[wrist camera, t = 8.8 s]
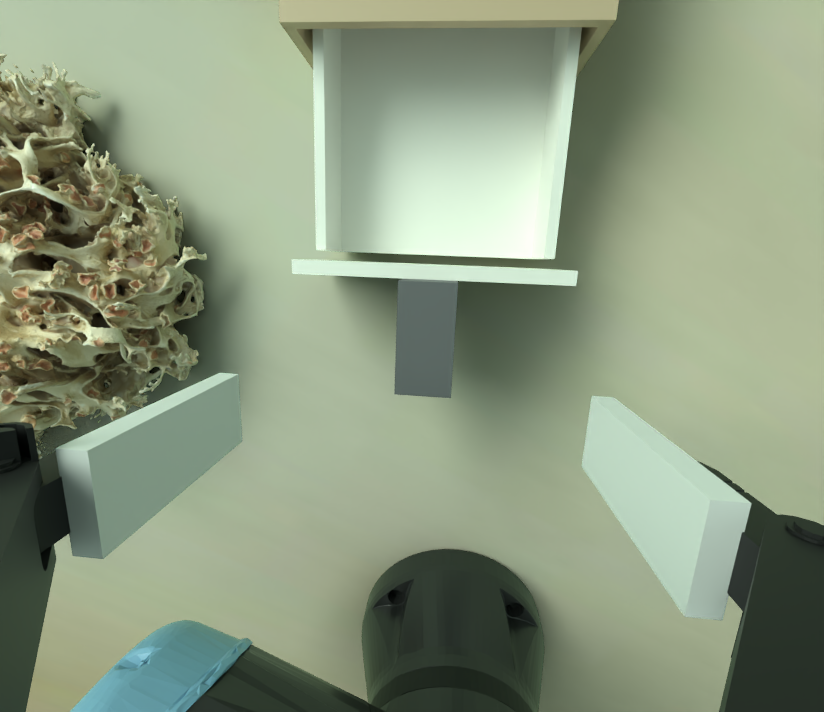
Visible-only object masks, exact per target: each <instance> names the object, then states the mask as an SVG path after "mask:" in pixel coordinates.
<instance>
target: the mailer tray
mask: <svg viewBox="0 0 824 712" xmlns="http://www.w3.org/2000/svg"><path fill="white" fill-rule="evenodd" d="M581 32H582V27H534V28H376V29H313V88H314V150H315V212H316V250H324V251H335V252H361V253H387V254H412V255H438V256H464V257H490V258H516V259H555V253H556V244H557V236H558V227H559V219H560V210H561V202H562V193H563V185H564V176H565V168H566V159H567V151H568V142H569V134H570V125H571V117H572V108H573V100H574V91H575V83H576V74H577V66H578V57H579V49H580V40H581ZM292 274H310V275H333V276H356V277H379V278H402V279H401V280H398V298H397V331H396V364H395V394H398V395H413V396H428V397H443V398H451V387H452V371H453V356H454V340H455V324H456V309H457V293H458V281H471V282H495V283H518V284H541V285H564V286H576V284H577V276H578V271H572V270H558V269H538V268H513V267H488V266H464V265H439V264H414V263H389V262H365V261H340V260H303V259H292Z"/></svg>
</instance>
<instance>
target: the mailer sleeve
mask: <svg viewBox="0 0 824 712" xmlns="http://www.w3.org/2000/svg"><path fill="white" fill-rule="evenodd" d="M618 3H619V0H279V22H280V24H281V25H282V26H283V28H284V29H285V31H286V32H287V33H288V35H289V36H290V38H291V39H292V41H293V42H294V43H295V45H296V46H297V48H298V49H299V50H300V52H301V53H302V55H303V56H304V57H305V59H306V60H307V62H308V63H309V64H310V66H311V67H312V69H313V29H376V28H534V27H582V32H581V40H580V49H579V57H578V66H577V74H576V77H577V76H578V75H579V73H580V72H581V70H582V69H583V67H584V66H585V64H586V63H587V61H588V60H589V59H590V57H591V56H592V54H593V53H594V51H595V50H596V48H597V47H598V45H599V44H600V43H601V41H602V40H603V38H604V37H605V35H606V34H607V32H608V31H609V29H610V28H611V27H612V25H613V24H614V22H615V21H616V18H617V11H618Z"/></svg>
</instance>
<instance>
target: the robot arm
mask: <svg viewBox="0 0 824 712" xmlns="http://www.w3.org/2000/svg"><path fill="white" fill-rule="evenodd" d="M241 442H242V426H241V408H240V390H239V374H231V373H218V374H216V375H213V376H211V377H209V378H207V379H205V380H203V381H200V382H198V383H196V384H194V385H192V386H190V387H187V388H185V389H183V390H181V391H179V392H176V393H174V394H172V395H170V396H168V397H166V398H163V399H161V400H159V401H157V402H155V403H153V404H150V405H148V406H146V407H144V408H142V409H139V410H137V411H135V412H133V413H131V414H129V415H126V416H124V417H122V418H120V419H118V420H116V421H113V422H111V423H109V424H107V425H105V426H103V427H100V428H98V429H96V430H94V431H92V432H89V433H87V434H85V435H83V436H81V437H79V438H76V439H74V440H72V441H70V442H68V443H66V444H63V445H61V446H59V447H57V448H55V451H56V452H54V453H51V454H49V455H47V456H45V457H43V458H41V459H39V458H38V452H37V446H36V441H35V435H34V429H33V425H32V424H30V423H26V422H9V423H0V712H26V707H27V702H28V697H29V692H30V687H31V682H32V677H33V672H34V667H35V662H36V657H37V652H38V647H39V642H40V637H41V632H42V627H43V622H44V617H45V612H46V607H47V602H48V597H49V592H50V587H51V582H52V577H53V572H54V567H55V562H56V555H55V549H54V543H56V542H57V541H59V540H60V539H62V538H63V537H64V536H66V535H67V534H69V536H70V542H71V548H72V554H73V556H79V557H89V558H99V559H104V558H105V557H106V556H107V555H108V554H110V553H111V552H112V551H113V550H114V549H115V548H117V547H118V546H119V545H120V544H121V543H123V542H124V541H125V540H126V539H127V538H128V537H130V536H131V535H132V534H133V533H134V532H135V531H137V530H138V529H139V528H140V527H141V526H143V525H144V524H145V523H146V522H147V521H148V520H150V519H151V518H152V517H153V516H154V515H156V514H157V513H158V512H159V511H160V510H161V509H163V508H164V507H165V506H166V505H167V504H169V503H170V502H171V501H172V500H173V499H174V498H176V497H177V496H178V495H179V494H180V493H182V492H183V491H184V490H185V489H186V488H187V487H189V486H190V485H191V484H192V483H193V482H195V481H196V480H197V479H198V478H199V477H200V476H202V475H203V474H204V473H205V472H206V471H208V470H209V469H210V468H211V467H212V466H213V465H215V464H216V463H217V462H218V461H219V460H221V459H222V458H223V457H224V456H225V455H226V454H228V453H229V452H230V451H231V450H232V449H234V448H235V447H236V446H237V445H238V444H239V443H241ZM582 468H583V469H584V471H585V472H586V474H587V475H588V477H589V478H590V479H591V481H592V482H593V484H594V485H595V487H596V488H597V490H598V491H599V493H600V494H601V495H602V497H603V498H604V500H605V501H606V503H607V504H608V506H609V507H610V509H611V510H612V512H613V513H614V514H615V516H616V517H617V519H618V520H619V522H620V523H621V525H622V526H623V528H624V529H625V531H626V532H627V533H628V535H629V536H630V538H631V539H632V541H633V542H634V544H635V545H636V547H637V548H638V549H639V551H640V552H641V554H642V555H643V557H644V558H645V560H646V561H647V563H648V564H649V566H650V567H651V568H652V570H653V571H654V573H655V574H656V576H657V577H658V579H659V580H660V582H661V583H662V585H663V586H664V587H665V589H666V590H667V592H668V593H669V595H670V596H671V598H672V599H673V601H674V602H675V604H676V605H677V606H678V608H679V609H680V611H681V612H682V614H683V615H684V617H693V618H703V619H713V620H723V616H724V612H725V608H726V604H727V600H728V596H730V597H731V598H732V599H733V600H734V601H735V602H736V604H737V605H738V606H739V607H740V608H741V609H742V611H743V613H742V617H741V621H740V625H739V629H738V632H737V636H736V640H735V644H734V648H733V652H732V655H731V658H732V659H731V663H730V667H729V672H728V676H727V680H726V684H725V689H724V693H723V697H722V702H721V706H720V710H719V712H824V526H823V525H821V524H819V523H816V522H813V521H810V520H806V519H803V518H799V517H795V516H788V515H777V514H775V513H774V512H773V511H771V510H770V509H769V508H767V507H766V506H765V505H763V504H762V503H761V502H759V501H758V500H757V499H755V498H754V497H753V496H751V495H750V494H749V493H745V492H744V490H743V489H742V488H740V487H739V486H738V485H736V484H734V483H732V481H731V480H730V479H728V478H727V477H726V476H724V475H723V474H722V473H720V472H719V471H717V470H715V469H713V468H711V467H709V466H707V465H705V464H703V463H701V462H699V461H696V460H695V459H693V458H692V457H691V456H689V455H688V454H687V453H686V452H684V451H683V450H682V449H680V448H679V447H678V446H676V445H675V444H674V443H673V442H671V441H670V440H669V439H667V438H666V437H665V436H663V435H662V434H661V433H659V432H658V431H657V430H656V429H654V428H653V427H652V426H650V425H649V424H648V423H646V422H645V421H644V420H643V419H641V418H640V417H639V416H637V415H636V414H635V413H633V412H632V411H631V410H630V409H628V408H627V407H626V406H624V405H623V404H622V403H620V402H619V401H618V400H617V399H615V398H614V397H600V396H592V397H591V404H590V411H589V418H588V425H587V432H586V439H585V446H584V453H583V460H582ZM252 643H253V642H252V641H251V640H249V639H248V638H244V639H241V640H239V639H237V638H235V637H232V636H230V635H228V634H225V633H223V632H220V631H218V630H216V629H213V628H211V627H208V626H206V625H204V624H201V623H199V622H195V621H190V620H182V621H177V622H173V623H170V624H168V625H165V626H164V627H162V628H160V629H158V630H156V631H155V632H153V633H152V634H150V635H149V636H148V637H146V638H145V639H144V640H142V641H141V642H140V643H139V644H137V645H136V646H135V647H134V648H133V649H132V650H130V651H129V652H128V653H127V654H126V655H125V656H124V657H123V658H122V659H121V660H120V661H119V662H117V663H116V664H115V665H114V666H113V667H112V668H111V669H110V670H109V671H108V672H107V673H106V674H105V675H104V676H103V677H102V678H101V679H100V680H99V681H98V682H97V683H96V685H95V686H94V687H93V688H92V689H91V690H90V691H89V692H88V693H87V694H86V695H85V696H84V697H83V698H82V699H81V700H80V701H79V702H78V704H77V705H76V706H75V707H74V708H73V709H72V710H71V711H70V712H538V709H539V700H540V690H541V680H542V671H543V661H544V637H543V631H542V627H541V623H540V619H539V615H538V611H537V608H536V605H535V602H534V600H533V598H532V596H531V594H530V592H529V591H528V589H527V588H526V586H525V585H524V584H523V583H522V582H521V580H520V579H519V578H518V577H517V576H516V575H514V574H513V573H512V572H511V571H510V570H508V569H507V568H506V567H504V566H502V565H501V564H499V563H497V562H496V561H494V560H492V559H490V558H487V557H485V556H482V555H479V554H476V553H472V552H467V551H462V550H451V549H442V550H431V551H426V552H421V553H418V554H415V555H412V556H409V557H407V558H405V559H403V560H401V561H399V562H398V563H396V564H394V565H393V566H392V567H390V568H389V569H388V570H387V571H386V572H385V573H384V574H383V575H382V576H381V577H380V578H379V580H378V581H377V582H376V584H375V585H374V587H373V589H372V591H371V593H370V596H369V599H368V603H367V607H366V611H365V616H364V620H363V625H362V649H363V658H364V668H365V677H366V686H367V696H368V703H367V702H366V701H364V700H362V699H360V698H358V697H356V696H354V695H352V694H350V693H348V692H346V691H344V690H342V689H340V688H338V687H336V686H334V685H332V684H330V683H328V682H326V681H324V680H322V679H320V678H318V677H316V676H314V675H312V674H310V673H308V672H306V671H304V670H302V669H300V668H298V667H296V666H294V665H292V664H290V663H288V662H285V661H283V660H281V659H279V658H277V657H275V656H273V655H271V654H269V653H267V652H265V651H263V650H261V649H259V648H257V647H255V646H253V645H251V644H252Z"/></svg>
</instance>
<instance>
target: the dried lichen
mask: <svg viewBox="0 0 824 712" xmlns="http://www.w3.org/2000/svg"><path fill="white" fill-rule="evenodd" d="M6 56H7V54H0V65H1V62H2V63H3V61H4V59H3V58H5V57H6ZM52 63H53V67H54V69H55V72H56V81H53V80H51V74H52V72H53V71H52V68H51V67H49V66H46V65H42V69H43V73H44V74H43V77H42V78H39V79H37V78H36V77H34V78H33V80H34V81H35V83H37V85H36V84H34V83H33V82H32V81H31V80H28V78H27V77H25V76H23V75H22V73H21V72H20V71H17V74H16V73H15V75H14V74H13V73H12V72H11V71H10V70H5V71H6V72H7V73H8V74H10V75H11V77H9V78H8V77H7V76H5V78H6V81H2V79H1V77H0V423H9V422H26V423H30V424H32V425H33V429H34V435H35V439H36V440H35V441H39V442H40V443H42V441H41V440H40V439H39V438H40V437H41V436H42V434H44V431H43V430H44V429H46V428H48V427H49V426H50V427H56V426H59V425H62V426H68V427H70V428H73V429H76V428H77V427H76V426H75V425H74V422H73V421H72V420H74V419H75V418H76V417H78V416H80V417H85V416H87V415H90V414H94V413H95V412H96V410H98V409H100V412H99V414H97V415H96V416H94V419H95V418H96V417H98V416H99V415H100V414H101V417H102V416H105V415H106V413H107V414H108V415H109V416H110V418H111V420H112V421H114V420H115V419H120V418H122V417H124V416H126V415H128V414H127V411H128V410H129V409H130V407H131V406H132V405H135V406H137V407H141V408H143V405H142V404H143V403H147V402H148V401H147V396H148V395H144V392H146V391H149V390H151V389H152V391H154V389H155V388H156V387H157V386H158V385H159V384H160V383H161V380H162V377H163V375H164V373H167V374H169V375H171V376H172V377H173V376H174V377H175V378H177V379H178V380H179V381H181V380H186V379H187V376H188V375H189V372H190V369H191V366H194V365H196V364H197V363H198V360H197V356H198V355H199V352H198V351H197V350H193V349H191V348H190V347H189V346H188V344H187V342H188V338H187V336H186V335H184V334H182V335H180V334H179V333H178V331H177V330H176V329H174V328H175V327H174V326H173V324H174V323H176V322H178V321H180V320H181V319H189V318H192V317H193V316H198V315H197V313H198V311H201V310H203V309H204V306H203V305H204V304H203V303H202V301H203V300H204V291H203V284H204V283H203V281H202V280H201V279H200V278H198V277H197V276H196V274H190V273H189V272H187V271H186V270H185V269H184V268H183V267H184V265H185V263H186V262H187V261H188V260H191V259H197V258H198V260H207V255H206V253H205V254H203V255H201V254H198V253H197V250H196V249H194V248H193V246H192V247H191V248H190V247H187V248H186V246H184V248H183V257H181V258H180V260H179V262H178V263H177V259H174V258H173V257H174V256H178V257H180V256H179V247H180V248H182V247H181V246H180V243H181V237H182V232H184V228H183V225H184V224H183V217H182V212H180V213H179V215H178V216H176V215H175V210H176V208H177V206H178V204H179V202H178V201H177V196H174V198H173V200H174V201H173V200H172V199H170V200H168V199H166V202H167V204H168V211H167V210H166V208H165V207H164V206H163V203H162V201H161V200H160V198H159V195H158V194H157V195H150V193H149V192H152V191H151V190H150V189H146V188H145V186H143V184H142V183H141V182H139V181H142V180H143V179H144V177H142V176H141V175H139V174H136V176H135V177H134V176H133V174H128V175H121V176H119V173H120V171H121V169H119V170H117V169H116V166H117V165H116V164H115V163H114V164H113V165H111V164H110V163H109V161H110V159H109V154H110V153H108V152H107V150H106V157H105V158H104V159H103V155H101V157H100V158H99V152H95V155H94V157H93V155H91V156H90V153H91V152H92V153H94V151H93V147H94V146H95V144H94V143H93V144H92V146H91V148H89V147H88V146H87V144H86V143H85V141H84V139H83V134H82V132H81V131H82V128H83V127H84V125H83V124H82V123H83V122H85V121H87V120H89V121H91V118H90V117H89V116H88V115H87V114H86V113H85V112H83V111H81V109H80V107H78V106H76V105H75V103H76V102H75V99H76V97H79V96H81V95H86V96H88V97H91V98H92V99H95V98H100V97H101V94H100V93H98V92H97V91H94V90H91V89H88V88H85V87H84V86H82V85H80V84H78V83H77V82H76V81H65V76H66V74H67V71H66V70H65V69H63V71H62V72H61V76H62V79H61V77H60V75H59V74H58V68H56V66H55V64H54V62H52ZM13 65H14V64H13ZM14 66H15V67H16V68H18V67H17V66H16V65H14ZM30 70H31V71H32V72H33V70H32V69H30ZM1 73H2V72H0V74H1ZM33 73H34V72H33ZM46 74H47V78H48V79H46ZM18 76H19V78H18ZM29 81H30V83H29ZM54 104H55V105H56V106H58V107H59V108H58V110H57V109H55V107H54ZM76 117H78V118H76ZM83 150H86V153H87V156H86V155H85V154H84V153H83V152H81V151H83ZM96 163H98V164H100V167H99V168H98V167H97V164H96ZM106 164H108V165H106ZM147 191H148V192H147ZM182 290H183V291H184V292H185V293H186V295H185V298H184V300H183V302H182V303H180V302H179V301H178V300H177V297H178V296H179V295H180V293H181V292H182ZM192 296H194V298H195V301H194V302H191V301H190V299H191V297H192ZM186 313H187V314H189V315H188V316H183V315H184V314H186ZM173 327H174V328H173ZM190 359H191V360H192V361H191V360H190ZM174 360H175V361H176V364H175V363H174V362H173V361H174ZM153 367H159V368H160V369H159V370H158V371H156V372H155V373H151V374H150V373H149V371H150V370H151V369H152V368H153ZM165 368H168V369H165ZM160 374H161V376H160V378H157V377H158V376H159V375H160ZM155 378H156V380H158V381H157V382H155V383H154V384H153V383H151V381H152V380H153V379H155ZM104 382H105V383H108V384H109V387H108V388H105V386H104ZM149 382H150V383H149ZM148 383H149V385H150V386H152V387H150V388H148V387H146V385H147V384H148ZM140 388H141V389H140ZM143 389H144V390H143ZM152 391H151V392H152ZM140 394H142V395H144V396H142V395H140ZM111 396H112V397H113V400H111V399H112V397H111ZM138 399H139V401H136V400H138ZM126 405H128V407H127V408H125V406H126ZM120 408H122V409H120ZM92 418H93V417H91V418H90V419H92ZM99 422H100V420H99V421H98V423H99ZM37 438H38V439H37ZM36 446H38V443H36ZM40 446H42V445H40ZM44 448H45V447H44ZM37 452H38V454H40V453H42V452H41V451H40V450H39V449H38V448H37ZM38 458H39V459H41V458H42V455H39V456H38Z"/></svg>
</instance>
